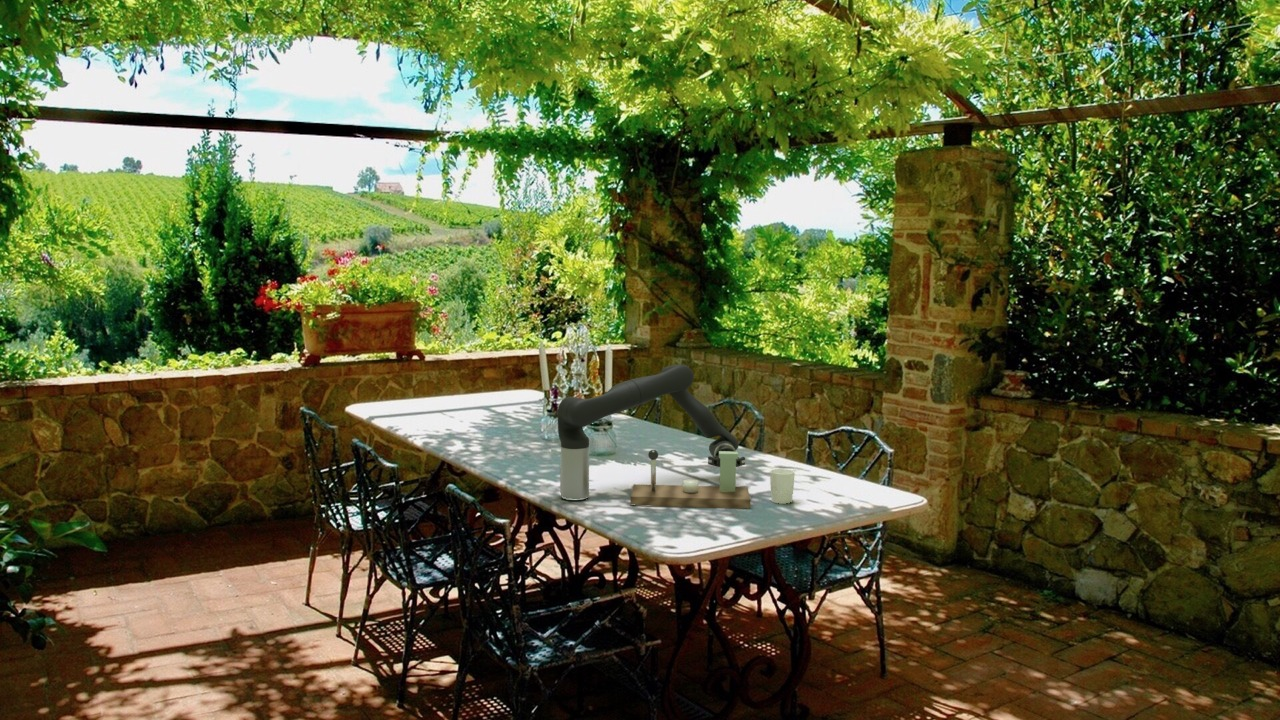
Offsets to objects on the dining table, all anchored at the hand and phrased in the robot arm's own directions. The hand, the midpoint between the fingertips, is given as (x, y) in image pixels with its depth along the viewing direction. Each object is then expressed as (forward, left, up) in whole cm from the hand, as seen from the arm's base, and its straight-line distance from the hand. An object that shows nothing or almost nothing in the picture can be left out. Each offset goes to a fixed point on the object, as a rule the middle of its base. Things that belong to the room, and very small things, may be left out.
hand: (727, 466), depth 311 cm
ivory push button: (-8, -9, -9) cm, 15 cm away
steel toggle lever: (-15, -19, -9) cm, 26 cm away
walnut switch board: (-8, -9, -12) cm, 17 cm away
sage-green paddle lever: (-1, +1, -9) cm, 9 cm away
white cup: (+8, +16, -12) cm, 22 cm away
